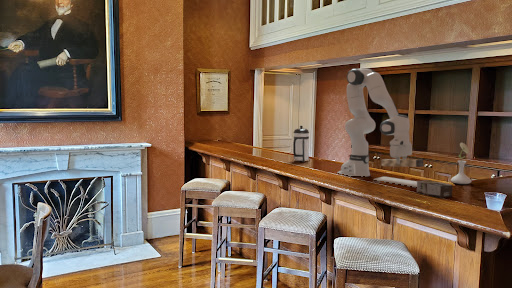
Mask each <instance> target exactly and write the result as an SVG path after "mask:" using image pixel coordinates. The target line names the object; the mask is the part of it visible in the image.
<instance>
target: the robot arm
mask: <svg viewBox="0 0 512 288" xmlns="http://www.w3.org/2000/svg"><path fill="white" fill-rule="evenodd" d="M346 81H347V82H348V84H347V85H346V101H347V105H348V111H349V112H350V113H351V114H352V115H353V117H354V118H351V119H349V120H347V121H345V124H344V129H345V132H346V133H347V134H348V135H349V138H350V143H351V154H349V155H348V156H347V157H348V158H349V159H347V161H345V162H344V163H343V164H342V165H341V167H340V170H338V171H337V174H338V173H339V174H338V175H342V174H344V175H343V176H346V175H348V176H347V177H351V176H361V178H362V177H363V176H365V177H370V176H371V173H370V167H369V161H370V155H369V142H368V141H367V139H366V138H365V135H367V134H369V133H372V132H374V130H375V129H376V122H375V120H374V119H373V118H372V117H371V115H370V114H369V111H368V109H367V106H366V100H365V97H364V88H367V92H368V95H369V98H370V99H371V101H372V102H373V103H374V104H376V105H377V104H378V105H380V106H382V107H383V108H384V109H385V110H386V112H387V115H388V117H389V119H386V120H383V121H382V122H381V123H380V126H379V130H380V132H381V134H382V135H385V136H393V137H394V138H393V139H391V140H390V141H389V155H390V158H392V159H396V160H397V164H401V161H400V159H401V157H402V159H408V156H411V155H413V144H412V142H411V140H410V129H411V125H410V124H411V123H410V118H409V116H408V115H405V114H400V113H399V111H398V108H397V106H396V104H395V102H394V100H393V98H392V97H391V96H390V93H389V92H388V89H387V87H386V84H385V82H384V79H383V77H382V76H381V74H380V73H379V72H376V71H375V70H374V69H372V68H363V67H361V68H352V69H351V70H349V71H348V72H347V74H346ZM363 178H364V177H363Z"/></svg>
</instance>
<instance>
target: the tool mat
mask: <svg viewBox="0 0 512 288" xmlns="http://www.w3.org/2000/svg"><path fill="white" fill-rule="evenodd" d="M374 180H377V181H376V182H380V181H384V182H383V183H386V182H389V183H388V184H392V183H395V184H394V185H398V184H401V185H400V186H404V185H407V186H406V187H410V186H412V188H416V187H417V181H418V180H416V181H415V180H409V179H403V178H396V177H389V176H381V177H376V178H373V181H374Z"/></svg>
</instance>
